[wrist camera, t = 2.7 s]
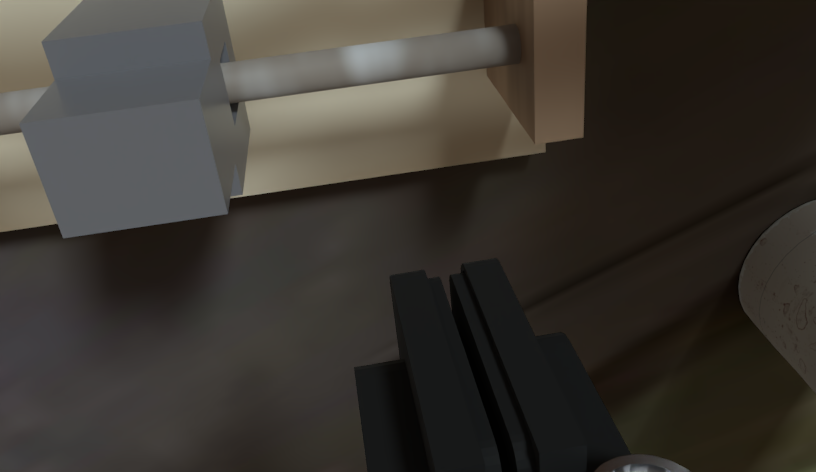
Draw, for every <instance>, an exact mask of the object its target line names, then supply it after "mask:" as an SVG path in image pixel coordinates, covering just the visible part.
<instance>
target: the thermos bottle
mask: <svg viewBox="0 0 816 472" xmlns="http://www.w3.org/2000/svg"><path fill="white" fill-rule="evenodd" d="M738 289H739V298H740V302H741V304H742V307H743V309H744V311H745V313H746V314H747V315H748V317H749V318H750V319H751V320H752V322H753V323H754V324H755V325H756V326H757V327H758V329H759V330H760V331H761V332H762V333H763V334H764V336H765V337H766V338H767V339H768V340H769V341H770V343H771V344H772V345H773V346H774V347H775V348H776V350H777V351H778V352H779V353H780V354H781V355H782V356H783V357H784V358H785V359H786V360H787V361H788V363H789V364H790V365H791V366H792V367H793V368H794V369H795V370H796V371H797V373H798V374H799V375H800V376H801V377H802V378H803V379H804V381H805V382H806V383H807V384H808V385H809V386H810V388H811V389H812V390H813V391H814V392H815V393H816V200H813V201H810V202H807V203H805V204H803V205H801V206H799V207H797V208H795V209H793V210H791V211H790V212H788V213H787V214H785V215H784V216H782V217H781V218H780V219H778V220H777V221H775V222H774V223H773V224H772V225H771V226H770V227H769V228H768V229H767V230H766V231H765V232H764V233H763V234H762V235H761V236H760V238H759V239H758V240H757V241H756V243H755V244H754V245H753V246H752V248H751V250H750V252H749V253H748V255H747V257H746V259H745V261H744V264H743V267H742V269H741V272H740V277H739V285H738Z"/></svg>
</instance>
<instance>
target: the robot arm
mask: <svg viewBox="0 0 816 472" xmlns="http://www.w3.org/2000/svg"><path fill="white" fill-rule="evenodd" d="M449 281H450V294H451V306H452V311H451V308H450V305H449V302H448V300H447V297H446V294H445V291H444V288H443V285H442V282H441V279H440V277H435V278H429V279H427V276H426V273H425V270H420V271H414V272H408V273H401V274H395V275H390V286H391V294H392V301H393V309H394V317H395V324H396V332H397V339H398V347H399V355H400V360H395V361H389V362H384V363H378V364H372V365H366V366H360V367H354V370H355V378H356V386H357V394H358V401H359V409H360V417H361V425H362V432H363V440H364V448H365V455H366V463H367V471H368V472H690V471H689V470H688V469H686V468H684V467H682V466H680V465H679V464H677V463H675V462H673V461H671V460H667V459H664V458H660V457H657V456H653V455H641V454H631V453H630V451H629V450H628V448H627V446H626V444H625V442H624V440H623V439H622V437H621V435H620V433H619V431H618V429H617V427H616V426H615V424H614V422H613V420H612V418H611V416H610V415H609V413H608V411H607V409H606V407H605V405H604V403H603V402H602V400H601V398H600V396H599V394H598V392H597V391H596V389H595V387H594V385H593V383H592V381H591V380H590V378H589V376H588V374H587V372H586V370H585V368H584V367H583V365H582V363H581V361H580V359H579V357H578V356H577V354H576V352H575V350H574V348H573V346H572V344H571V343H570V341H569V339H568V338H567V336H566V335H565V334H564V333H562V332H559V333H554V334H548V335H542V336H536V337H535V335H534V333H533V331H532V329H531V327H530V325H529V322H528V320H527V318H526V316H525V314H524V312H523V310H522V308H521V306H520V304H519V302H518V300H517V298H516V295H515V293H514V291H513V289H512V287H511V285H510V283H509V281H508V279H507V277H506V275H505V273H504V271H503V268H502V266H501V264H500V262H499V261H498V259H496V258H494V259H488V260H482V261H475V262H469V263H463V264H462V265H461V273H460V274H453V275H450V278H449Z"/></svg>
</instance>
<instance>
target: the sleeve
mask: <svg viewBox="0 0 816 472" xmlns="http://www.w3.org/2000/svg"><path fill="white" fill-rule="evenodd" d="M41 43H42V45H43V48H44V51H45V54H46V57H47V60H48V63H49V66H50V68H51V71H52V74H53V77H54V82H53V83H52V84H51V85H50V86H49V88H48V89H47V90H46V91H45V93H44V94H43V95H42V96H41V97H40V99H39V100H38V101H37V102H36V104H35V105H34V106H33V107H32V108H31V110H30V111H29V112H28V113H27V115H26V116H25V117H24V118H23V119H22V121H21V122H20V123H19V125H20V128H21V130H22V133H23V136H24V138H25V141H26V143H27V146H28V148H29V151H30V154H31V156H32V159H33V161H34V164H35V167H36V169H37V172H38V174H39V177H40V180H41V182H42V185H43V187H44V190H45V193H46V195H47V198H48V200H49V203H50V206H51V208H52V211H53V213H54V216H55V219H56V221H57V224H58V226H59V229H60V232H61V234H62V237H63V238H69V237H76V236H83V235H90V234H96V233H103V232H110V231H117V230H123V229H130V228H137V227H144V226H150V225H157V224H164V223H171V222H177V221H184V220H191V219H198V218H205V217H211V216H218V215H225V214H228V211H229V204H230V197H231V196H237V195H243V188H244V180H245V171H246V163H247V154H248V145H249V137H250V125H249V120H248V115H247V111H246V106H245V102H238V103H231V104H230V103H229V99H228V94H227V90H226V86H225V81H224V77H223V72H222V68H221V64H220V63H227V62H234V61H236V60H235V56H234V51H233V47H232V42H231V37H230V33H229V28H228V24H227V19H226V14H225V10H224V5H223V1H222V0H83V1H82V2H81V3H80V4H79V5H78V6H77V7H76V8H75V9H74V10H73V11H72V12H71V13H70V14H69V15H68V16H67V17H66V18H65V19H64V20H63V21H62V22H61V23H60V24H59V25H58V26H57V27H56V28H55V29H54V30H53V31H52V32H51V33H50V34H49V35H48V36H47V37H46V38H45V39H44V40H43V41H42V42H41Z"/></svg>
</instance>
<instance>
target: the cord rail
mask: <svg viewBox="0 0 816 472" xmlns="http://www.w3.org/2000/svg"><path fill="white" fill-rule="evenodd" d="M82 1H83V0H0V232H5V231H12V230H18V229H25V228H32V227H39V226H46V225H52V224H57V221H56V219H55V216H54V213H53V211H52V208H51V206H50V203H49V200H48V198H47V195H46V193H45V190H44V187H43V185H42V182H41V180H40V177H39V174H38V172H37V169H36V167H35V164H34V161H33V159H32V156H31V154H30V151H29V148H28V146H27V143H26V141H25V138H24V136H23V133H22V130H21V128H20V125H19V123H20V122H21V121H22V119H23V118H24V117H25V116H26V115H27V113H28V112H29V111H30V110H31V108H32V107H33V106H34V105H35V104H36V102H37V101H38V100H39V99H40V97H41V96H42V95H43V94H44V93H45V91H46V90H47V89H48V88H49V86H50V85H51V84H52V83H53V82H54V77H53V74H52V71H51V68H50V66H49V63H48V60H47V57H46V54H45V51H44V48H43V45H42V43H41V42H42V41H43V40H44V39H45V38H46V37H47V36H48V35H49V34H50V33H51V32H52V31H53V30H54V29H55V28H56V27H57V26H58V25H59V24H60V23H61V22H62V21H63V20H64V19H65V18H66V17H67V16H68V15H69V14H70V13H71V12H72V11H73V10H74V9H75V8H76V7H77V6H78V5H79V4H80V3H81V2H82ZM222 1H223V5H224V10H225V14H226V19H227V24H228V28H229V33H230V37H231V42H232V47H233V51H234V56H235V60H236V61H234V62H227V63H220V64H221V68H222V72H223V77H224V81H225V86H226V90H227V94H228V99H229V103H230V104H231V103H238V102H245V106H246V111H247V115H248V120H249V125H250V137H249V145H248V154H247V163H246V171H245V180H244V188H243V195H237V196H231V197H230V198H237V197H244V196H250V195H257V194H264V193H271V192H278V191H284V190H291V189H298V188H305V187H312V186H319V185H325V184H332V183H339V182H346V181H353V180H360V179H366V178H373V177H380V176H387V175H394V174H400V173H407V172H414V171H421V170H428V169H435V168H441V167H448V166H455V165H462V164H469V163H476V162H482V161H489V160H496V159H503V158H510V157H516V156H523V155H530V154H537V153H544V152H546V143H549V142H556V141H563V140H569V139H576V138H583V135H584V96H585V56H586V17H587V0H222Z"/></svg>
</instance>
